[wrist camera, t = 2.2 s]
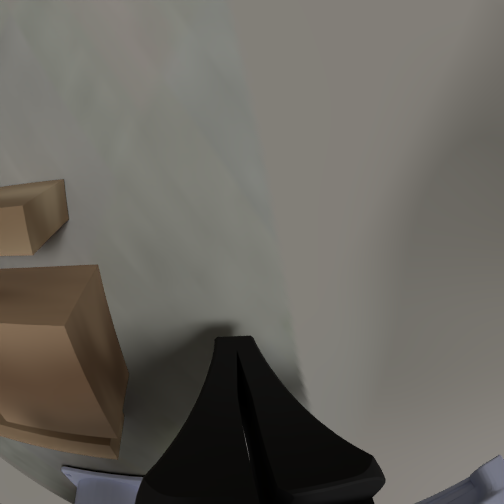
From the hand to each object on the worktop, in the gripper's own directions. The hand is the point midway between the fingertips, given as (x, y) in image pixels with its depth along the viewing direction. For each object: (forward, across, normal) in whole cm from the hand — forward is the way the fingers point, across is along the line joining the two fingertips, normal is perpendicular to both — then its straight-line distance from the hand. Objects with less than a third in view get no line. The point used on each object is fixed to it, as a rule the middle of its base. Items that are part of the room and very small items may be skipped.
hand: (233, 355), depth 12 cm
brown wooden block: (+2, +8, 0) cm, 8 cm away
